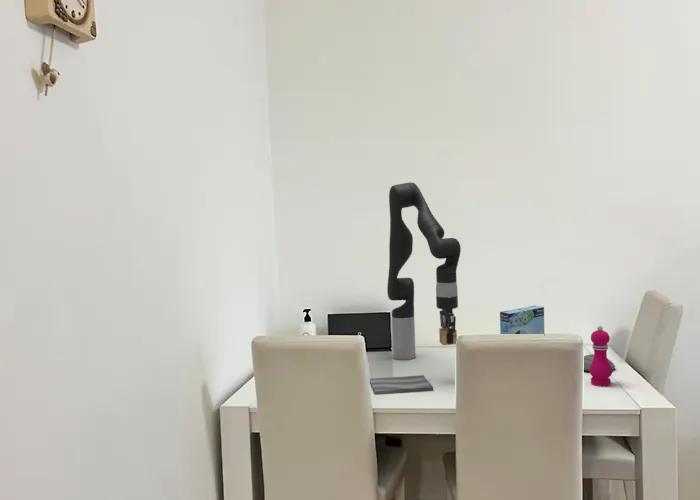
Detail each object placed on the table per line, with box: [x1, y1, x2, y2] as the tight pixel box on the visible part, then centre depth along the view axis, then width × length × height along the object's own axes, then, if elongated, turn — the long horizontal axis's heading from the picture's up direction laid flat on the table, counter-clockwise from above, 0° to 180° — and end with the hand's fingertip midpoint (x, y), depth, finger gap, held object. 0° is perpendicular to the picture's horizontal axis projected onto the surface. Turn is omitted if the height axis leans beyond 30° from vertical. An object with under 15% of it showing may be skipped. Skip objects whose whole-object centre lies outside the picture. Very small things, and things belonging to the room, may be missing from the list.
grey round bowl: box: [583, 353, 616, 372], centre depth 244 cm, size 15×15×6 cm
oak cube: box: [438, 327, 458, 346], centre depth 233 cm, size 5×5×5 cm
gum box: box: [499, 305, 545, 335], centre depth 246 cm, size 19×5×23 cm, turn 123°
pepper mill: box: [588, 325, 613, 387], centre depth 223 cm, size 7×7×20 cm
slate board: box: [369, 374, 434, 395], centre depth 230 cm, size 16×20×1 cm
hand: (448, 341), depth 233 cm, fingers closed on oak cube, 5 cm apart
